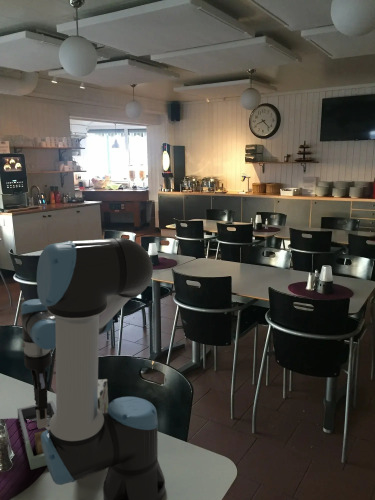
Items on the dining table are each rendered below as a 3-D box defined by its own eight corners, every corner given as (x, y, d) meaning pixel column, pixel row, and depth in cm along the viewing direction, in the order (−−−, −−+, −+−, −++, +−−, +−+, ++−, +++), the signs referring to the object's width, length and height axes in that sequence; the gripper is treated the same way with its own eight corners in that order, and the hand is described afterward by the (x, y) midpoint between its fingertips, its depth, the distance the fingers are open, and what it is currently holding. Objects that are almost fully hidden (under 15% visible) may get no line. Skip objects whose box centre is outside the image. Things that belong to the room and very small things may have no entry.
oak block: (61, 454, 119) (60, 438, 118) (39, 461, 116) (38, 444, 115) (57, 443, 124) (56, 427, 123) (35, 449, 121) (34, 433, 121)
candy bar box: (93, 427, 132) (91, 378, 129) (109, 428, 131) (108, 378, 129) (84, 450, 120) (82, 397, 118) (101, 451, 120) (100, 397, 118)
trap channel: (72, 457, 118) (72, 447, 117) (30, 469, 113) (30, 459, 112) (53, 408, 142) (52, 400, 142) (18, 417, 137) (17, 408, 136)
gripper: (21, 346, 128) (26, 419, 132) (27, 363, 116) (32, 441, 120) (47, 342, 131) (51, 413, 135) (55, 357, 120) (59, 434, 124)
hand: (42, 426), depth 128 cm, fingers closed
